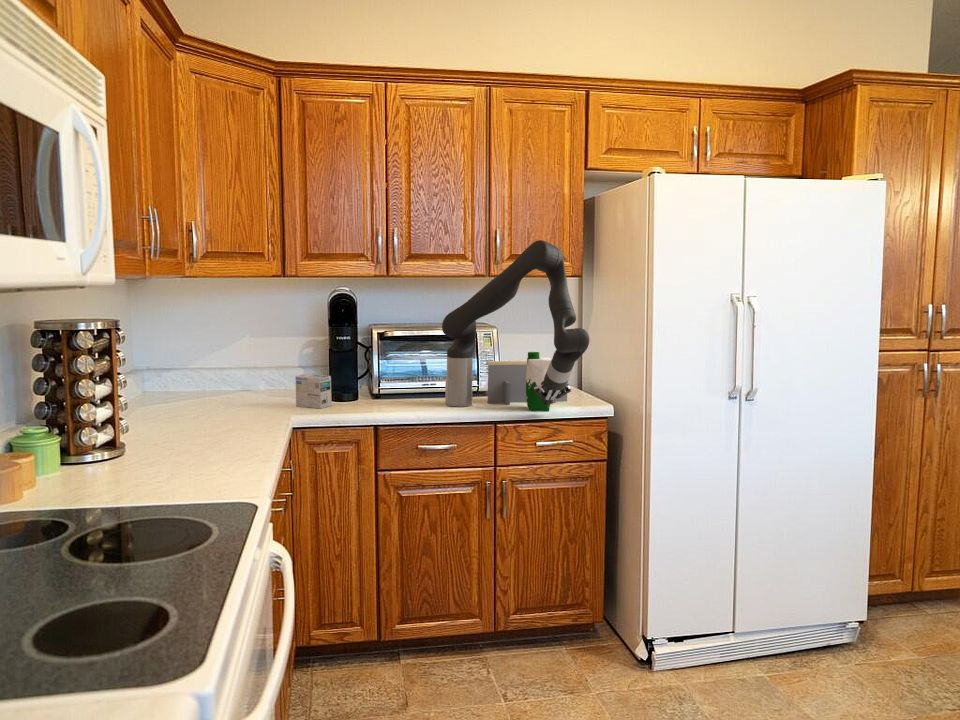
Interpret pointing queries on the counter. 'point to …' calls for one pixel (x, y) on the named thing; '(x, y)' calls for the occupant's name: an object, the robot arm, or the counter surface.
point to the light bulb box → (313, 391)
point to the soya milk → (535, 380)
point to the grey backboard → (509, 382)
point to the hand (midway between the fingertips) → (546, 403)
